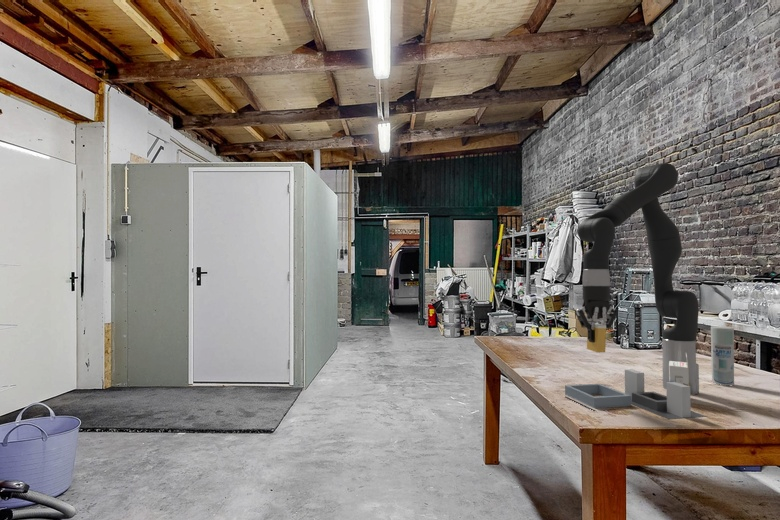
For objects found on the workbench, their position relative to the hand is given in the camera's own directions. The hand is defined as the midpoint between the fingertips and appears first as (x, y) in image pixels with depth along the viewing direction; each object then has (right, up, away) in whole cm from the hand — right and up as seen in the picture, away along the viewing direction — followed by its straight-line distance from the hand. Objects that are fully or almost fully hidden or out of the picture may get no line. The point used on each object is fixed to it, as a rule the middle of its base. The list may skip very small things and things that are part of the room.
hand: (596, 341), depth 132 cm
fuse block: (+14, -18, -6) cm, 24 cm away
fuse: (0, -3, 0) cm, 3 cm away
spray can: (+55, -19, +23) cm, 63 cm away
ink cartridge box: (+25, -19, 0) cm, 31 cm away
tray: (0, -18, -1) cm, 18 cm away
